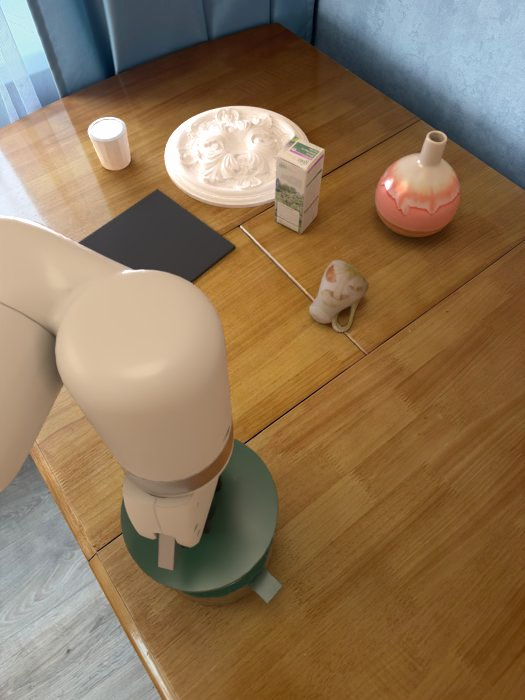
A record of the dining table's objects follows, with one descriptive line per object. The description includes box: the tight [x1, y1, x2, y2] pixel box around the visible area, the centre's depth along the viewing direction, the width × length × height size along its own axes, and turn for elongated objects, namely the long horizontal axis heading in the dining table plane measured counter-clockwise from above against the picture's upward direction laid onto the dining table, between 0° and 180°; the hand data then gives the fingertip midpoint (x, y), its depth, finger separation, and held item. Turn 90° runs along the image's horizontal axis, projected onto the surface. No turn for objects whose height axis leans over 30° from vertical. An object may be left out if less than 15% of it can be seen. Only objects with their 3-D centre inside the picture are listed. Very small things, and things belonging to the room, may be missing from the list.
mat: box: [77, 188, 237, 284], centre depth 89 cm, size 20×20×1 cm
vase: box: [374, 130, 462, 238], centre depth 85 cm, size 14×14×18 cm
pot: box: [174, 535, 284, 607], centre depth 61 cm, size 14×19×10 cm
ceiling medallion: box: [164, 105, 310, 209], centre depth 100 cm, size 28×28×3 cm
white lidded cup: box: [87, 116, 132, 171], centre depth 98 cm, size 7×7×7 cm
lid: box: [120, 438, 279, 593], centre depth 47 cm, size 15×15×7 cm
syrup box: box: [274, 136, 326, 235], centre depth 87 cm, size 6×6×14 cm
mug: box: [308, 259, 370, 333], centre depth 81 cm, size 8×10×10 cm
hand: (199, 504), depth 49 cm, fingers closed on lid, 3 cm apart
